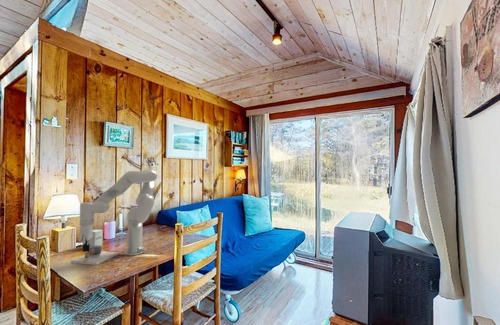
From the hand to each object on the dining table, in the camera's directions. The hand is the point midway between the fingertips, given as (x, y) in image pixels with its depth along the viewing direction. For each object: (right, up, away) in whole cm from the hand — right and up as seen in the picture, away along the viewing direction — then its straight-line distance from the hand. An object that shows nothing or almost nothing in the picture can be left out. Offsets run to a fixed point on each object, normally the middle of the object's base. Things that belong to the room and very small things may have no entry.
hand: (86, 251), depth 147 cm
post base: (0, -8, +8) cm, 12 cm away
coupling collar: (+1, -5, +4) cm, 6 cm away
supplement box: (-15, -9, +30) cm, 34 cm away
